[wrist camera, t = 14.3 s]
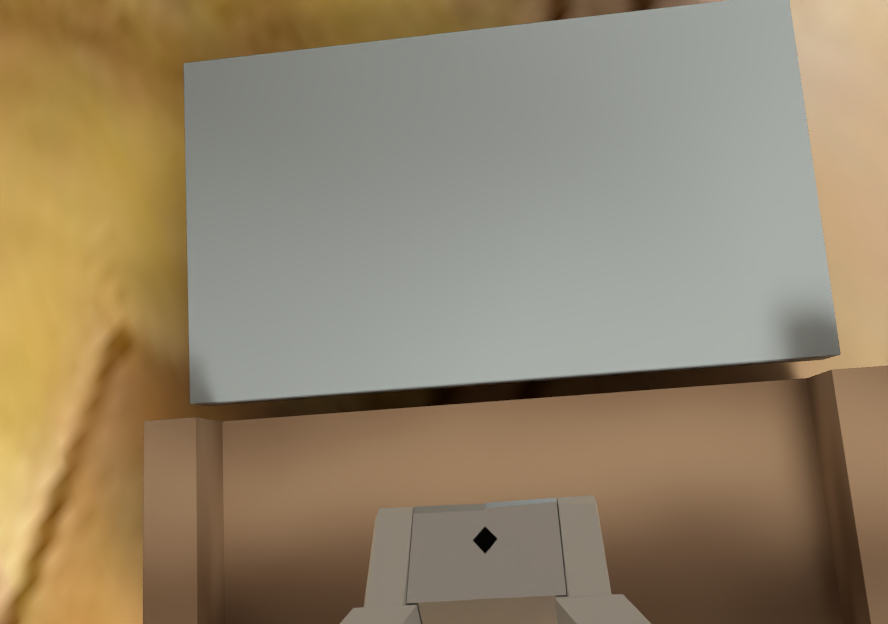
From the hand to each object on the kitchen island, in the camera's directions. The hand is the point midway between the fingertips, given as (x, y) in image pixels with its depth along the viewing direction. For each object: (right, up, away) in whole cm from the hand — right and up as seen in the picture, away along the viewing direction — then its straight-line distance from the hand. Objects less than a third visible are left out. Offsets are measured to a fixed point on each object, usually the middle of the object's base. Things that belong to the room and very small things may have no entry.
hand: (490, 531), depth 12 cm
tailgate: (+1, +1, +14) cm, 14 cm away
